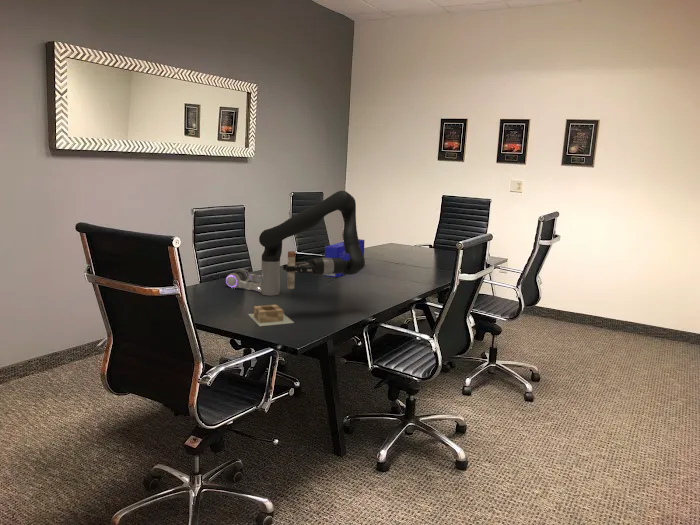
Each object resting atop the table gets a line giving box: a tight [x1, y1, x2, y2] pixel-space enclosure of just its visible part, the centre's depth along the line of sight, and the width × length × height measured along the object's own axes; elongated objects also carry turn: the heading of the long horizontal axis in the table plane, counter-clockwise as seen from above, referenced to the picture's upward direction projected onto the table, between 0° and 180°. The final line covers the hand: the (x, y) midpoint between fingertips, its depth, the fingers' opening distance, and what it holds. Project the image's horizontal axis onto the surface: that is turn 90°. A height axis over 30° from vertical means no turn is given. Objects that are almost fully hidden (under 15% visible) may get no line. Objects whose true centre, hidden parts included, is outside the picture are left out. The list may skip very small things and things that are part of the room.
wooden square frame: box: [253, 304, 285, 323], centre depth 233 cm, size 10×10×4 cm
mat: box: [247, 313, 295, 327], centre depth 234 cm, size 18×15×1 cm
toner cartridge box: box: [324, 238, 365, 278], centre depth 336 cm, size 39×8×18 cm, turn 154°
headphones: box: [225, 268, 261, 293], centre depth 290 cm, size 22×8×22 cm
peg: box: [286, 250, 296, 290], centre depth 235 cm, size 3×3×16 cm
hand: (284, 268), depth 233 cm, fingers closed on peg, 3 cm apart
